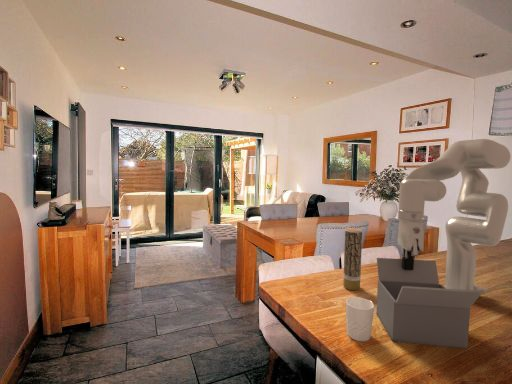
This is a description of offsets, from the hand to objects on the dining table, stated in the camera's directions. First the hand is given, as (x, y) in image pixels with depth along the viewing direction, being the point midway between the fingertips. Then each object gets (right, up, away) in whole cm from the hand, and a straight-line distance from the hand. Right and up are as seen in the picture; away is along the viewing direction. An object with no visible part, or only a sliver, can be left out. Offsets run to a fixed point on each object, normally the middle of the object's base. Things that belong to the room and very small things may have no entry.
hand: (407, 269), depth 96 cm
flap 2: (-2, -2, -19) cm, 19 cm away
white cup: (-21, -17, -11) cm, 29 cm away
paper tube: (-11, -15, +24) cm, 30 cm away
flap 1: (0, -1, +1) cm, 1 cm away
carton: (-1, -17, -8) cm, 18 cm away
